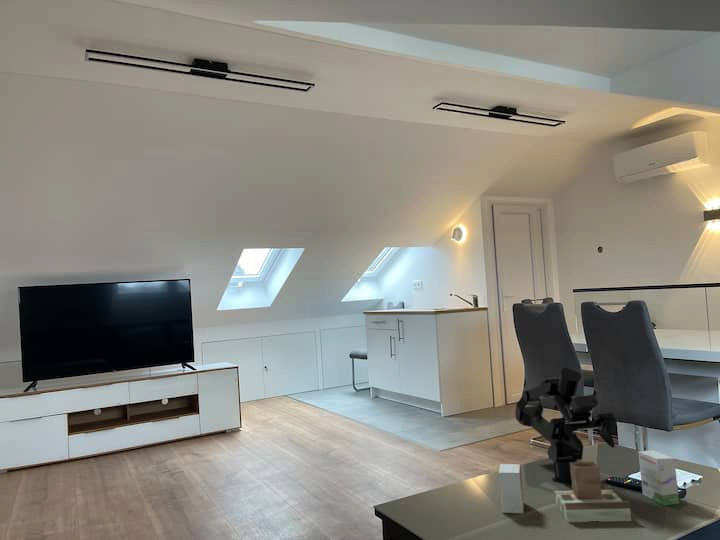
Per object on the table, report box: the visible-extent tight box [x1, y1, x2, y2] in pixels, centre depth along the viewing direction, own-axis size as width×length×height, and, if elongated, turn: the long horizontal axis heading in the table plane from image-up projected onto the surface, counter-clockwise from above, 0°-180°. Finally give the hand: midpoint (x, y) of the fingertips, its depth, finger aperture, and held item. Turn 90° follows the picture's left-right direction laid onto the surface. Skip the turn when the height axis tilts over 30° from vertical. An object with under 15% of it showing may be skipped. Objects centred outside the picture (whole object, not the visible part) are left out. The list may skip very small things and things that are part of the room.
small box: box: [497, 463, 525, 514], centre depth 141 cm, size 8×6×10 cm
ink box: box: [638, 450, 680, 507], centre depth 139 cm, size 8×5×12 cm, turn 6°
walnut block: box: [570, 461, 602, 500], centre depth 138 cm, size 5×6×8 cm
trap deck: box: [553, 489, 632, 523], centre depth 135 cm, size 13×15×4 cm
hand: (597, 448), depth 140 cm, fingers open, 9 cm apart
